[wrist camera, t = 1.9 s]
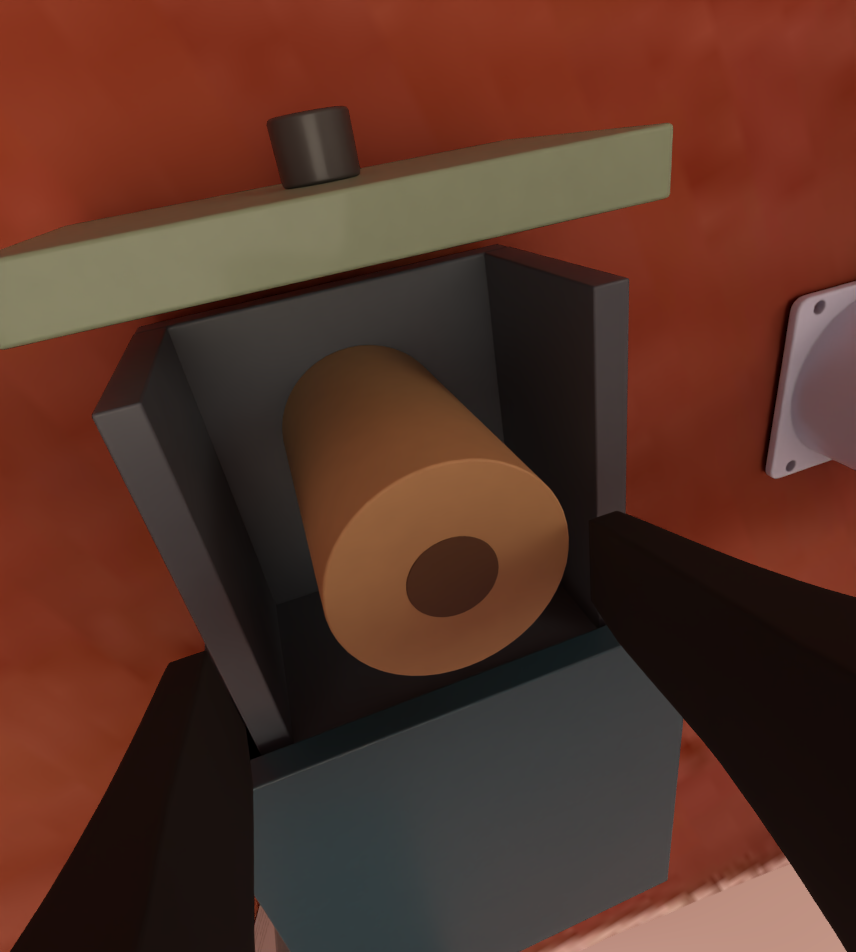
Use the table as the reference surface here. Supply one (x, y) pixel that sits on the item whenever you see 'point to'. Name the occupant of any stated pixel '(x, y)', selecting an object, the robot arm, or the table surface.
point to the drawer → (332, 329)
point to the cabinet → (472, 809)
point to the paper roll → (416, 516)
